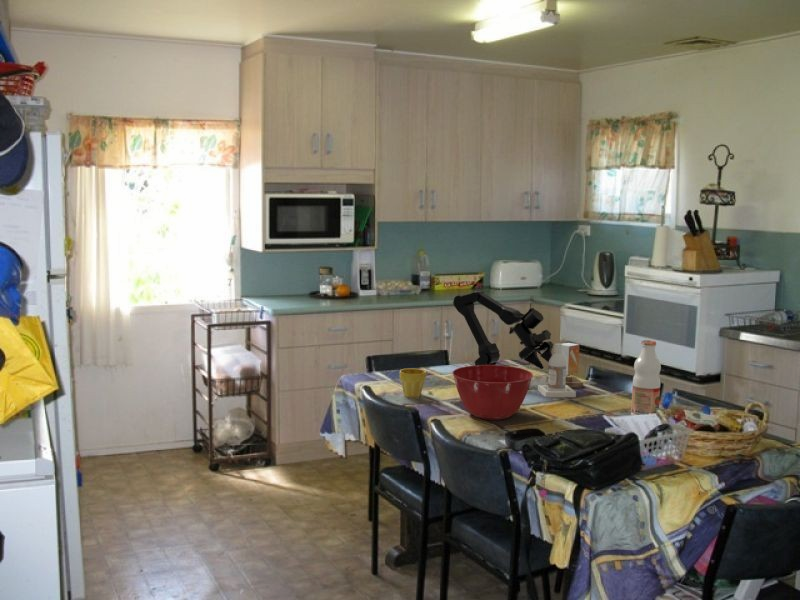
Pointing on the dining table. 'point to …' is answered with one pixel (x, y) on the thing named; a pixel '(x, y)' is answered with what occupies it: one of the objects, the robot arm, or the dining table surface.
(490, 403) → the mixing bowl
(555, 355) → the bath foam
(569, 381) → the walnut collar
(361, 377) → the dining table surface
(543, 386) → the white square tray
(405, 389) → the plant pot
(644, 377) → the fruit juice
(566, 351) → the small box
